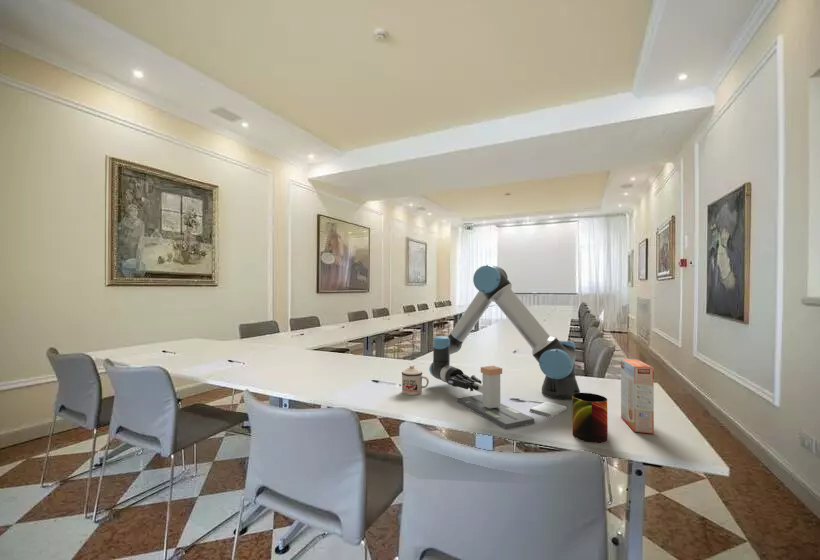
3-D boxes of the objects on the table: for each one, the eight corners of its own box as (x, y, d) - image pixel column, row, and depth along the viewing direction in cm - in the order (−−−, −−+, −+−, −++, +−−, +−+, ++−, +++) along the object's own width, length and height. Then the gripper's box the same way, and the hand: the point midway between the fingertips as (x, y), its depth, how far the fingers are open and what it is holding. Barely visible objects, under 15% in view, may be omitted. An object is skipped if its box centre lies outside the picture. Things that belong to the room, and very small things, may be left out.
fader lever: (480, 404, 133) (480, 367, 134) (493, 402, 136) (493, 365, 136) (489, 409, 129) (488, 369, 129) (502, 406, 131) (502, 368, 131)
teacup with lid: (398, 394, 153) (398, 367, 153) (405, 388, 162) (405, 362, 162) (425, 397, 149) (425, 369, 150) (431, 391, 158) (431, 364, 158)
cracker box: (655, 434, 111) (654, 367, 112) (633, 432, 113) (632, 365, 113) (639, 419, 125) (639, 358, 125) (620, 417, 126) (619, 357, 127)
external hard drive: (529, 412, 132) (545, 405, 141) (551, 418, 126) (566, 410, 135) (529, 408, 132) (545, 401, 141) (551, 414, 126) (566, 406, 135)
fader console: (456, 402, 143) (456, 397, 143) (481, 398, 148) (481, 394, 148) (506, 428, 116) (506, 423, 116) (534, 423, 121) (534, 418, 121)
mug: (602, 427, 117) (602, 390, 117) (610, 445, 104) (610, 403, 104) (570, 424, 120) (569, 388, 120) (574, 440, 107) (573, 400, 107)
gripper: (465, 382, 158) (499, 397, 137) (439, 386, 153) (470, 402, 131) (465, 365, 158) (499, 378, 137) (439, 368, 153) (470, 381, 131)
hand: (485, 390), depth 134 cm, fingers closed
